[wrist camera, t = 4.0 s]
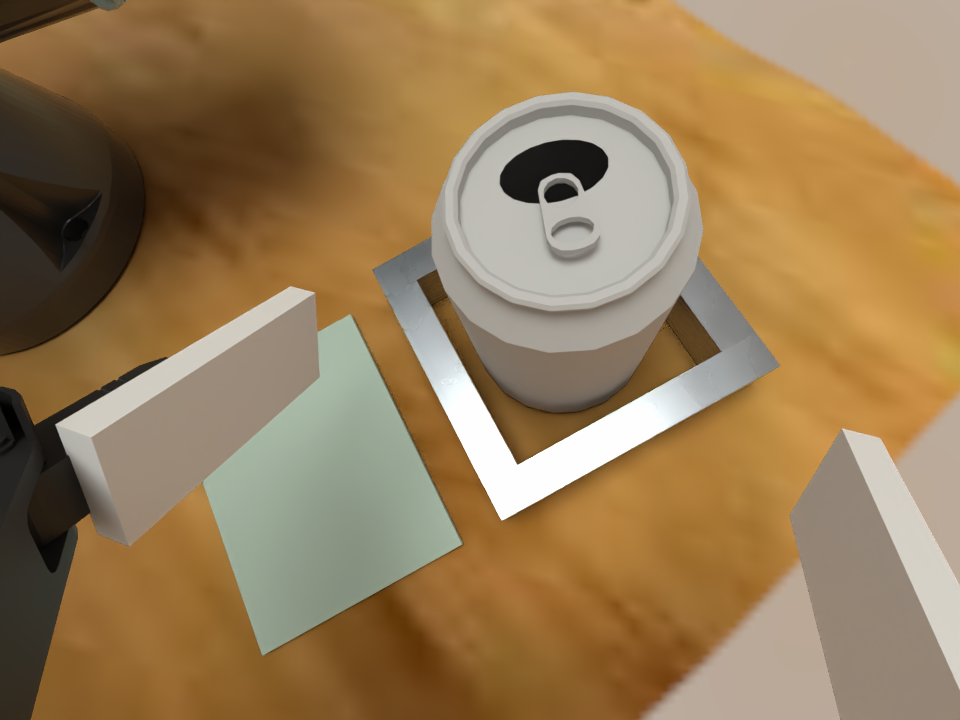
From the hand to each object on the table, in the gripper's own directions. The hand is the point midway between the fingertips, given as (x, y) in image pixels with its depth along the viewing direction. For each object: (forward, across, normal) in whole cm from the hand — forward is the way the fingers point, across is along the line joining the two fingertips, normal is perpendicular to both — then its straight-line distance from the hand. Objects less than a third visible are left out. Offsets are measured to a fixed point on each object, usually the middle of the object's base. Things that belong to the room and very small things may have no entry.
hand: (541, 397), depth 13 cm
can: (+11, -1, -4) cm, 12 cm away
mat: (+4, -10, -10) cm, 15 cm away
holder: (+11, -1, -4) cm, 11 cm away
